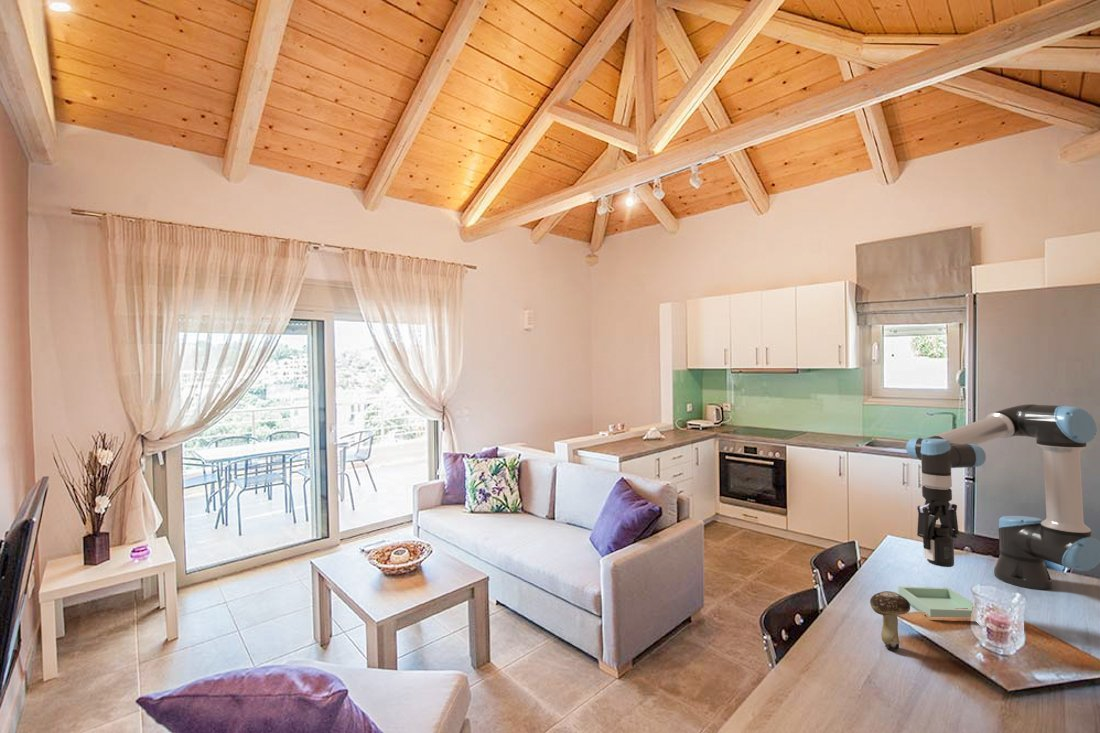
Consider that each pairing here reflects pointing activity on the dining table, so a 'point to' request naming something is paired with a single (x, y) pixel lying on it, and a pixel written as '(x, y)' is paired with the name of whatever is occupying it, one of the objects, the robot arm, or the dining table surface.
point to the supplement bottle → (943, 547)
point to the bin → (937, 601)
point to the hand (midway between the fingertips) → (938, 557)
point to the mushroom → (890, 615)
